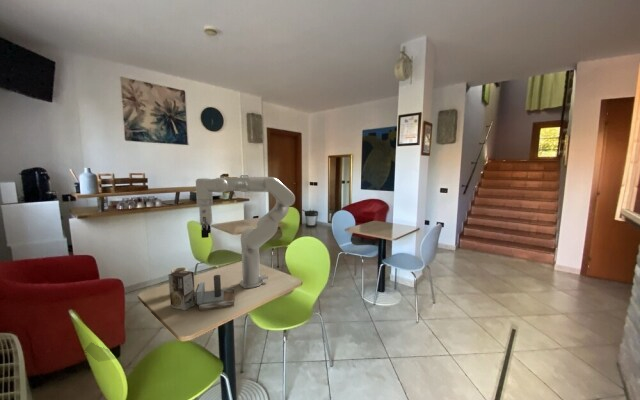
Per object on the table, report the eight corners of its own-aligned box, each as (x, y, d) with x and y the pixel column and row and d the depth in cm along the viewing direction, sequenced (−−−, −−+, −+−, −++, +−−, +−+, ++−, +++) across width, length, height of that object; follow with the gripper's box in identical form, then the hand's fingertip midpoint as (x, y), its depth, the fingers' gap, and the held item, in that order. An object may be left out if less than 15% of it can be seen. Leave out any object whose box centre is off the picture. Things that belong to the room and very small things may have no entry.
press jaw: (224, 292, 134) (223, 271, 132) (222, 303, 123) (221, 279, 122) (199, 295, 130) (197, 273, 129) (195, 306, 120) (194, 282, 119)
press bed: (234, 292, 137) (234, 287, 137) (233, 306, 123) (233, 301, 123) (203, 296, 133) (203, 291, 133) (199, 311, 119) (198, 305, 118)
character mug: (185, 288, 142) (184, 265, 141) (194, 290, 139) (192, 267, 137) (165, 296, 132) (164, 271, 131) (174, 299, 129) (173, 274, 128)
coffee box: (196, 304, 125) (194, 271, 123) (185, 310, 119) (183, 276, 117) (181, 301, 128) (179, 269, 126) (170, 307, 122) (167, 274, 120)
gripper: (210, 204, 126) (212, 238, 128) (214, 200, 143) (215, 231, 145) (193, 204, 124) (195, 240, 126) (199, 201, 141) (200, 232, 142)
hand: (206, 235), depth 135 cm, fingers open, 9 cm apart
